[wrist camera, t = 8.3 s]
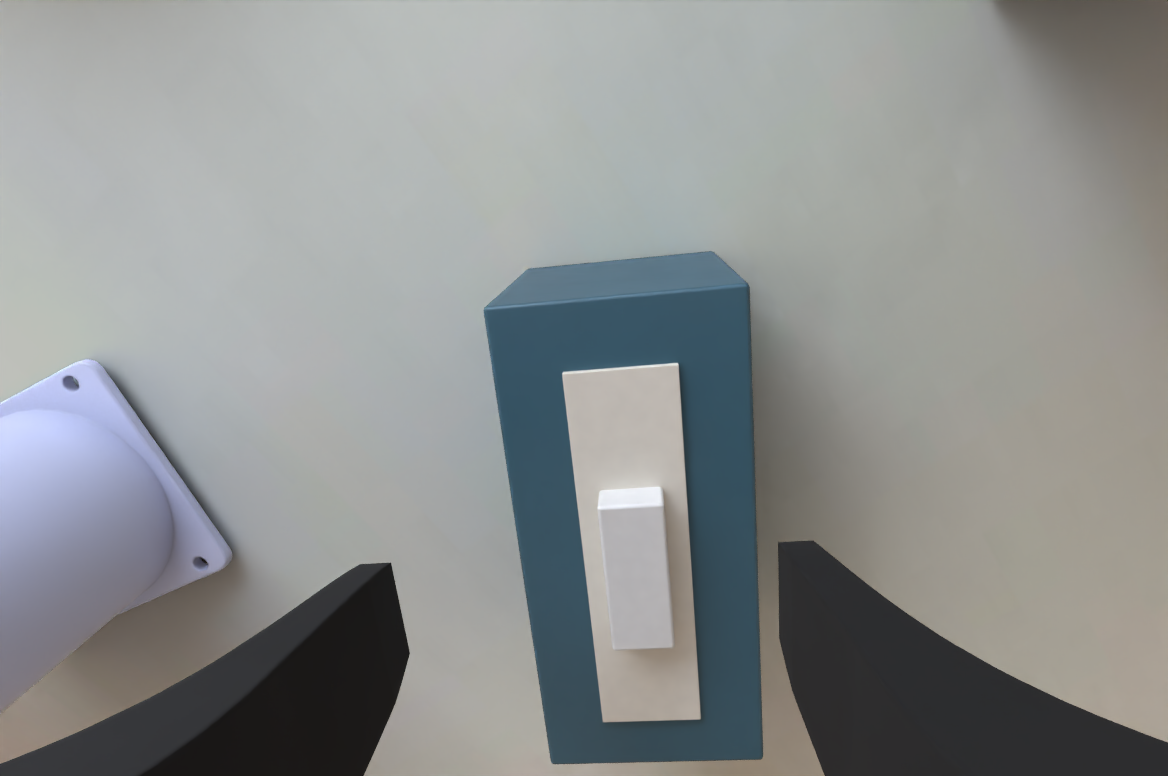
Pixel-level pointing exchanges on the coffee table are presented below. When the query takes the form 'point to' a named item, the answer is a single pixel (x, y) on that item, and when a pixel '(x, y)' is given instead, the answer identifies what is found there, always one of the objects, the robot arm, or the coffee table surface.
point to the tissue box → (635, 503)
